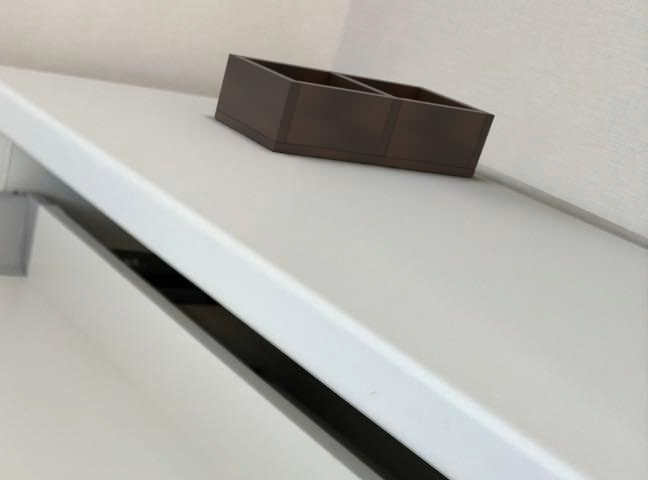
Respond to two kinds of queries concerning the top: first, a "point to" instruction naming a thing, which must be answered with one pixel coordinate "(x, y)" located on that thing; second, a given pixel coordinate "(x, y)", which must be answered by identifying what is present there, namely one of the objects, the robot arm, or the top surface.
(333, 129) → the divided wooden tray
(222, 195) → the top surface
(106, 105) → the top surface
